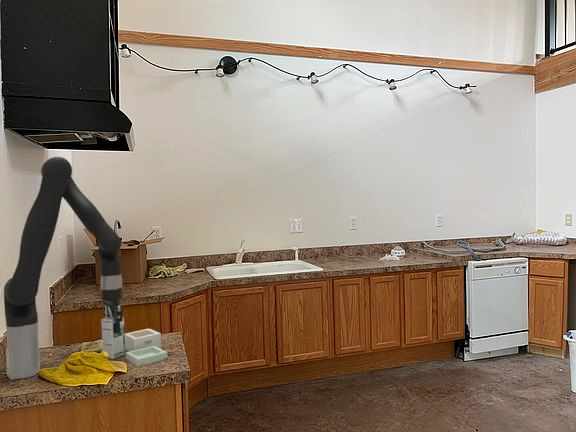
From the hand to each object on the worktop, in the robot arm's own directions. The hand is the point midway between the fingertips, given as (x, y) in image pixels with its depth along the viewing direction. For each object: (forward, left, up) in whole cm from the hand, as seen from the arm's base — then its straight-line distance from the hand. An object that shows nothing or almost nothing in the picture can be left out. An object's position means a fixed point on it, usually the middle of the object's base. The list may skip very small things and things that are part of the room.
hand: (113, 330), depth 168 cm
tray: (+7, -13, -9) cm, 17 cm away
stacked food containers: (+11, 0, -9) cm, 14 cm away
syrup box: (0, 0, -10) cm, 10 cm away
